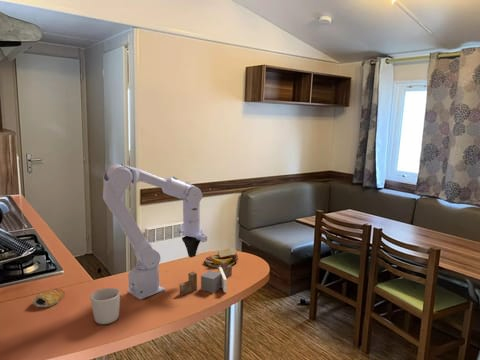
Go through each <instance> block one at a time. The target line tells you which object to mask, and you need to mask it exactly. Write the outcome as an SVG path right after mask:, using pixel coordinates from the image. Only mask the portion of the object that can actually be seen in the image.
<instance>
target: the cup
mask: <svg viewBox="0 0 480 360" xmlns="http://www.w3.org/2000/svg"><path fill="white" fill-rule="evenodd" d="M120 301H121V291H120V290H119V289H118V288H114V287H105V288H104V287H103V288H100V289H98V290H95V291H93V292H92V293H91V294H90V302H91V303H90V304H91V307H92V313H93V318H94V321H95V322H96V323H97V324H99V325H108V324H111V323H114V322H115V321H116V320H117V319H118V318H119V317H120V316H119V315H120V303H121V302H120Z"/></svg>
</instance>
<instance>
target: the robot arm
mask: <svg viewBox="0 0 480 360" xmlns="http://www.w3.org/2000/svg"><path fill="white" fill-rule="evenodd" d="M102 180H103V185H102V186H103V187H102V188H103V189H102V190H103V191H102V199H103V201H104V203H105V204H106V206H107V208H108V209H109V211H110V213H111V214H112V216H113V217H114V219H115V220H116V222H117V223H118V225H119V226H120V228H121V229H122V232H123V233H124V234H125V237H126V238H127V239H128V241H129V242H130V244H131V246H132V248H133V251H134V252H133V253H134V256H135V258H136V259H137V262H136V265H135V267H134V268H133V269H130V270H129V272H128V275H127V276H128V290H127V292H128V293H129V294H131V295H133V296H134V297H135V298H136V299H138V300H143V299H146V298H148V297H151V296H153V295H154V296H155V294H158V293H162V292H163V291H165V290H166V289H165V288H164V287H163V286H160V271H159V269H160V266H159V264H160V262H161V254H160V252H158V251H157V250H156V248H154V247H153V246H152V244H151V243H149V241H148V240H147V238H146V237H145V236H144V234H143V231H142V230H141V229H140V227H139V225H138V224H137V222H136V221H135V219H134V217H133V216H132V214H131V212H130V211H129V209H128V207H127V206H126V204H125V202H124V200H123V199H122V197H123V195H124V193H125V190H127V189H128V188H129V186H130V185H131V183H132V184H137V183H139V182H142V183H145V184H148V185H151V186H154V187H157V188H161V191H162V192H163V194H166V195H168V196H172V197H174V198H177V199H181V200H182V206H183V207H182V217H183V218H182V219H183V221H182V222H183V223H182V224H183V226H182V225H181V226H178V227H177V233H178V234H182V235H183V237H181V241H182V242H183V244H184V246H185V248H186V251H187V255H188V257H189V258H194V257H196V255H197V251H198V248H199V245H200V244H201V243H205V242H207V241H208V236H207V235H206V234H205V233H203V229H202V228H201V208H200V207H201V205H200V202H201V201H202V199H203V195H204V194H203V193H202V190H201V189H200V188H199V187H198V186H195V185H193V184H191V183H190V182H189V181H183V180H179V178H178V177H176V176H172V177H171V176H168V177H165V178H162V177H160V176H158V175H155V174H152V173H150V172H148V171H145V170H143V169H140V168H137V167H133V166H130V165H126V164H125V165H124V166H123V165H122V164H120V163H118V162H117V163H116V162H115V163H111V164H109V165H108V166H107V168H106V169H105V171H104V174H103V176H102Z"/></svg>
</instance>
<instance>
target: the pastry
mask: <svg viewBox="0 0 480 360" xmlns="http://www.w3.org/2000/svg"><path fill="white" fill-rule="evenodd" d="M64 297H65V290H64V289H62V288H58V287H57V288H51V289H47V290H44V291H43V290H42V292H41V293H38V294H37V295H36V296H35V298H34V299H33V302H32V304H33V306H34V307H37V308H51V307H53V306H55V305H56V304H58V303H60V301H62V299H63V298H64Z"/></svg>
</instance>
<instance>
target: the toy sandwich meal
mask: <svg viewBox="0 0 480 360" xmlns="http://www.w3.org/2000/svg"><path fill="white" fill-rule="evenodd" d="M217 253H218V254H211V255H209V256H207V257H205V258H204V263H205V264H206V265H207V266H209V267H211V268H216V269H219V265H220V262H221V261H223V260H224V261H227V262H228V266H229V265H230V266H233V265H234V264H235V263H236V262H237V261H239V255H238V252H237V250H236V248H235V247H229V248H224V249H220V250H217Z"/></svg>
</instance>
